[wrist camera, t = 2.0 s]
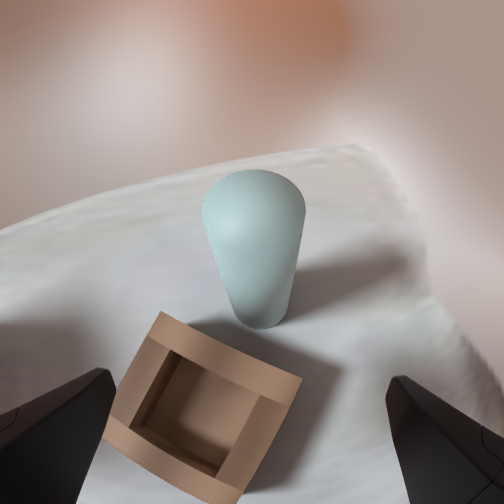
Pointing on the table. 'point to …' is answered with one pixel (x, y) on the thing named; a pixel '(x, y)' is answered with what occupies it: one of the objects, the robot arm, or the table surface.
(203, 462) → the socket base
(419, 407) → the robot arm
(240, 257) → the column
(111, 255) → the table surface
